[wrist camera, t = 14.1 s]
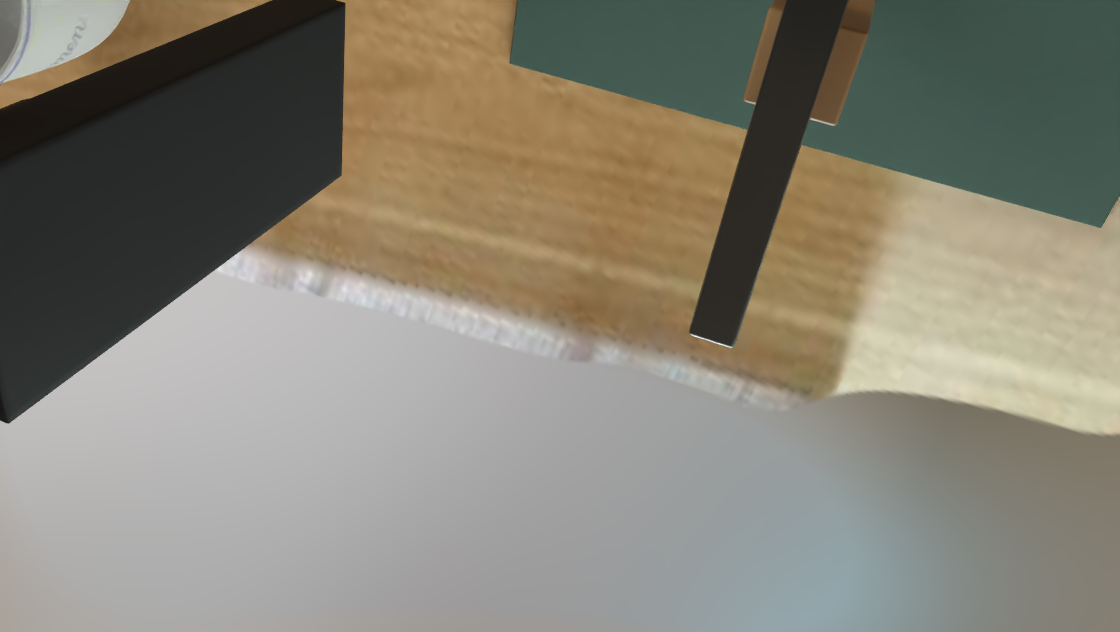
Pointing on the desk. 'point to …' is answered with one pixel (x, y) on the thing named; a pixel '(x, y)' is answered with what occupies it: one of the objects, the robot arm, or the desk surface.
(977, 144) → the mat
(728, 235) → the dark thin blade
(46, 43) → the teacup
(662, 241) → the desk surface
